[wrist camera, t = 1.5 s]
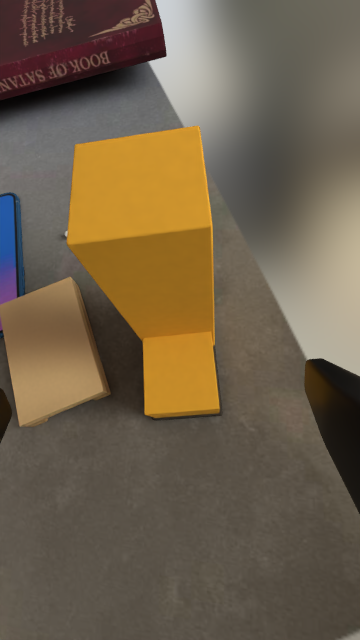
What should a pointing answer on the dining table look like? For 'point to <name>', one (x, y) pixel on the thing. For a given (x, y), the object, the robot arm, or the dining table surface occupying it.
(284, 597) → the dining table surface
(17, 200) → the smartphone
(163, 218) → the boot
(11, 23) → the book
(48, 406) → the thin tan notched panel
